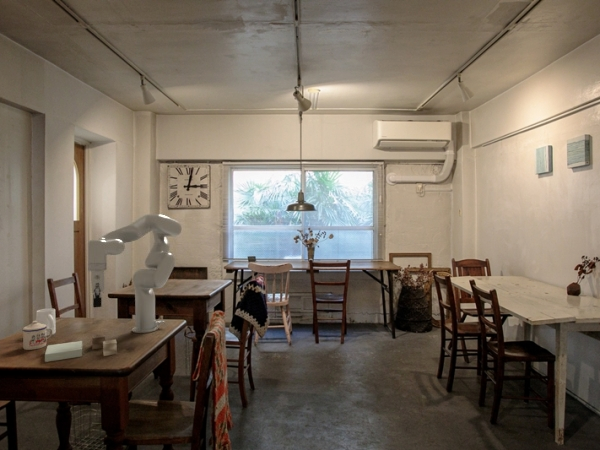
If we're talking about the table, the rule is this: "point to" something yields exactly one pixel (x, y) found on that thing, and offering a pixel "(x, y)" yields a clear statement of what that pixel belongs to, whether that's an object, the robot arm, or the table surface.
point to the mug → (47, 319)
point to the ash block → (109, 347)
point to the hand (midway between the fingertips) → (97, 305)
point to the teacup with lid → (35, 336)
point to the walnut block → (98, 341)
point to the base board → (63, 351)
